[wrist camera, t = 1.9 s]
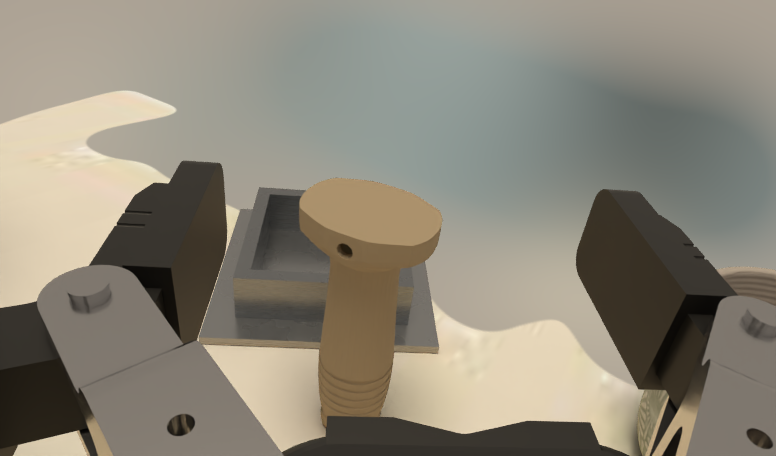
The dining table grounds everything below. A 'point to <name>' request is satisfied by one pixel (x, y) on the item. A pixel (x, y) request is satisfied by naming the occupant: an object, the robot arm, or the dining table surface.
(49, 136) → the dining table surface
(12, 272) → the dining table surface
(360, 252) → the handle
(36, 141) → the dining table surface
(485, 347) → the dining table surface
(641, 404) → the planter
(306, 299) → the grey square tray
